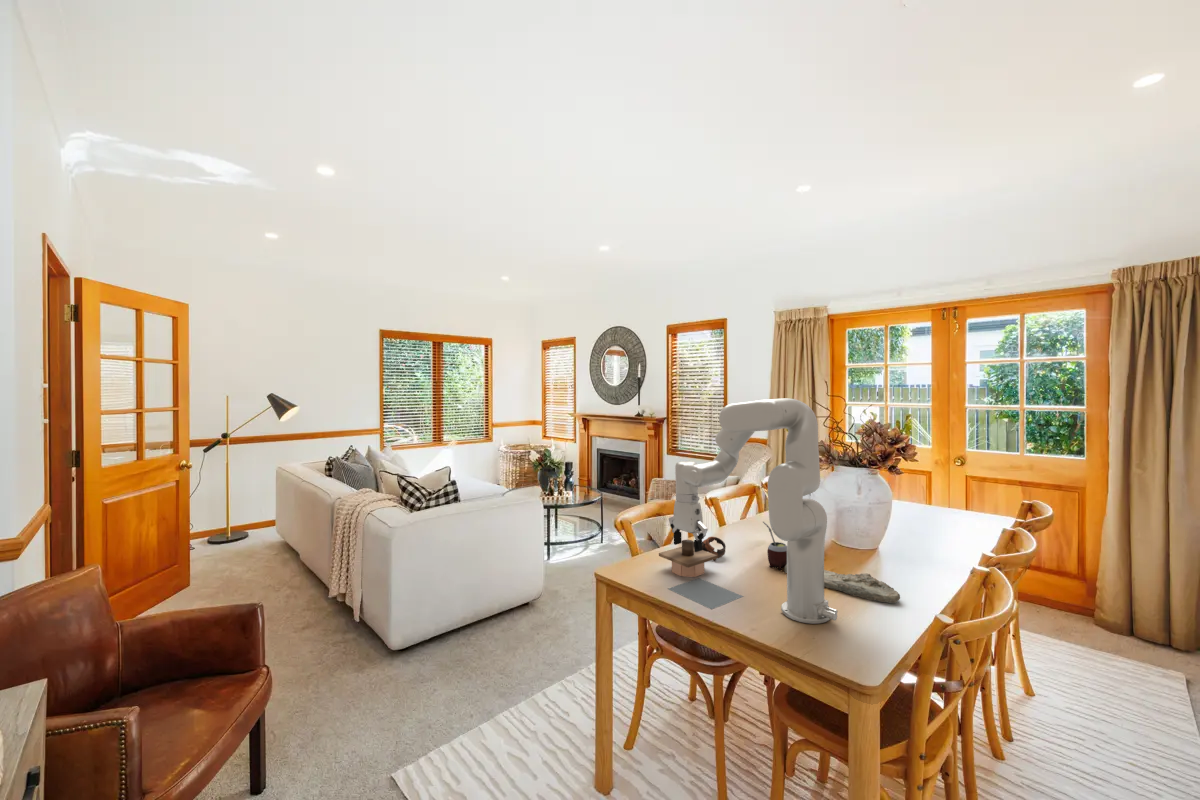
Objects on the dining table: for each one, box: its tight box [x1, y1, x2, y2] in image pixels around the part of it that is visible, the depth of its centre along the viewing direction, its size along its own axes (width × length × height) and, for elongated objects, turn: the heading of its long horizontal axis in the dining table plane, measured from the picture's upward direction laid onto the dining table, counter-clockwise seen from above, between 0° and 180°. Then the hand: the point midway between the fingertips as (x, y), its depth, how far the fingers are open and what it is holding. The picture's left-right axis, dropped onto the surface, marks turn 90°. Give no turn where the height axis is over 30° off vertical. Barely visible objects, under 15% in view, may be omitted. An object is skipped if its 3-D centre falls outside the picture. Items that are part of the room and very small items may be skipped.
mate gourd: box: [762, 521, 787, 571], centre depth 172 cm, size 8×8×15 cm
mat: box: [667, 577, 744, 610], centre depth 151 cm, size 18×14×1 cm
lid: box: [658, 539, 719, 568], centre depth 169 cm, size 14×14×5 cm
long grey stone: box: [783, 564, 901, 604], centre depth 155 cm, size 35×5×10 cm
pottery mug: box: [702, 536, 727, 561], centre depth 183 cm, size 12×10×8 cm
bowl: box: [671, 561, 705, 578], centre depth 169 cm, size 11×11×5 cm
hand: (687, 547), depth 169 cm, fingers open, 9 cm apart
